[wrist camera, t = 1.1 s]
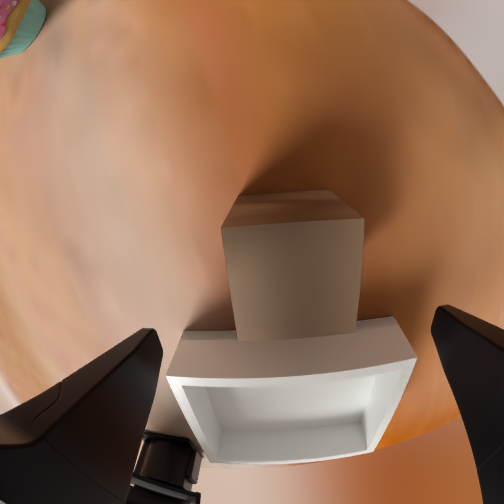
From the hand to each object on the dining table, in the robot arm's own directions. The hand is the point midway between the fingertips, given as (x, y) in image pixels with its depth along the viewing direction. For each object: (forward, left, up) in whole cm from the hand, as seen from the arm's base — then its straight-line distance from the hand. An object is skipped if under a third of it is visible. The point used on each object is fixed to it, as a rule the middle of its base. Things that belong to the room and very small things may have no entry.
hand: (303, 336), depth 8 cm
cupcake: (-18, +20, -9) cm, 29 cm away
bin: (0, -13, -9) cm, 16 cm away
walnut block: (0, 0, -9) cm, 9 cm away
